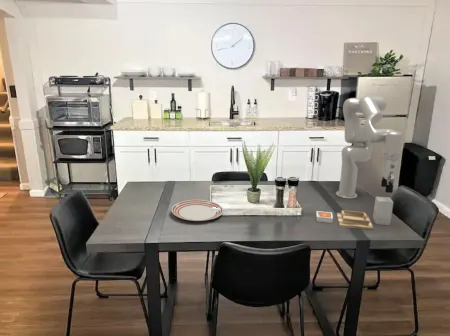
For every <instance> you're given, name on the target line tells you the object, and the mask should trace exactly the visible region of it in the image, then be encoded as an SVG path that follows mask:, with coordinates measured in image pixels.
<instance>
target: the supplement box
mask: <svg viewBox="0 0 450 336" xmlns="http://www.w3.org/2000/svg"><path fill="white" fill-rule="evenodd" d="M393 208H394V201H393V200H392V199H391V197H389V196H388V197H386V196H375V198H374V208H373V214H372V220H373V222H374V223H375V224H376V225H381V226H383V225H385V226H390V225H391V223H392V222H391V220H392V215H393V214H392V213H393Z"/></svg>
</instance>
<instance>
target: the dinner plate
mask: <svg viewBox="0 0 450 336" xmlns="http://www.w3.org/2000/svg"><path fill="white" fill-rule="evenodd" d="M211 206H212V207H216V208H220V209H221V210H220V211H218V212H215V213H213V212H211V211H210V208H211ZM171 213H172V214H173V215H174V216H175V217H177V218H179V219H182V220H186V221H193V222H204V221H210V220H214V219H217V218H219V217H220V216H221V215H222V214H223V213H224V208H223V205H220V204H218V203H217V202H214V201H210V200H206V199H188V200H184V201H180V202H178V203H176V204H174V205H173V206H172V208H171Z"/></svg>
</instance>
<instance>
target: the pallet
mask: <svg viewBox="0 0 450 336" xmlns="http://www.w3.org/2000/svg"><path fill="white" fill-rule="evenodd" d="M340 211H341V212H336V219H337V222H338V226H339V228H347V229H358V230H367V231H374V226H373V223H372V221H371V220H370V217H369V215H367V214H366V212H365V211H356V210H344V209H341V210H340Z"/></svg>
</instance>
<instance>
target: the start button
mask: <svg viewBox="0 0 450 336" xmlns="http://www.w3.org/2000/svg"><path fill="white" fill-rule="evenodd" d="M325 212H326V211H322V213H320V217H329V214H328V213H325Z"/></svg>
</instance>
